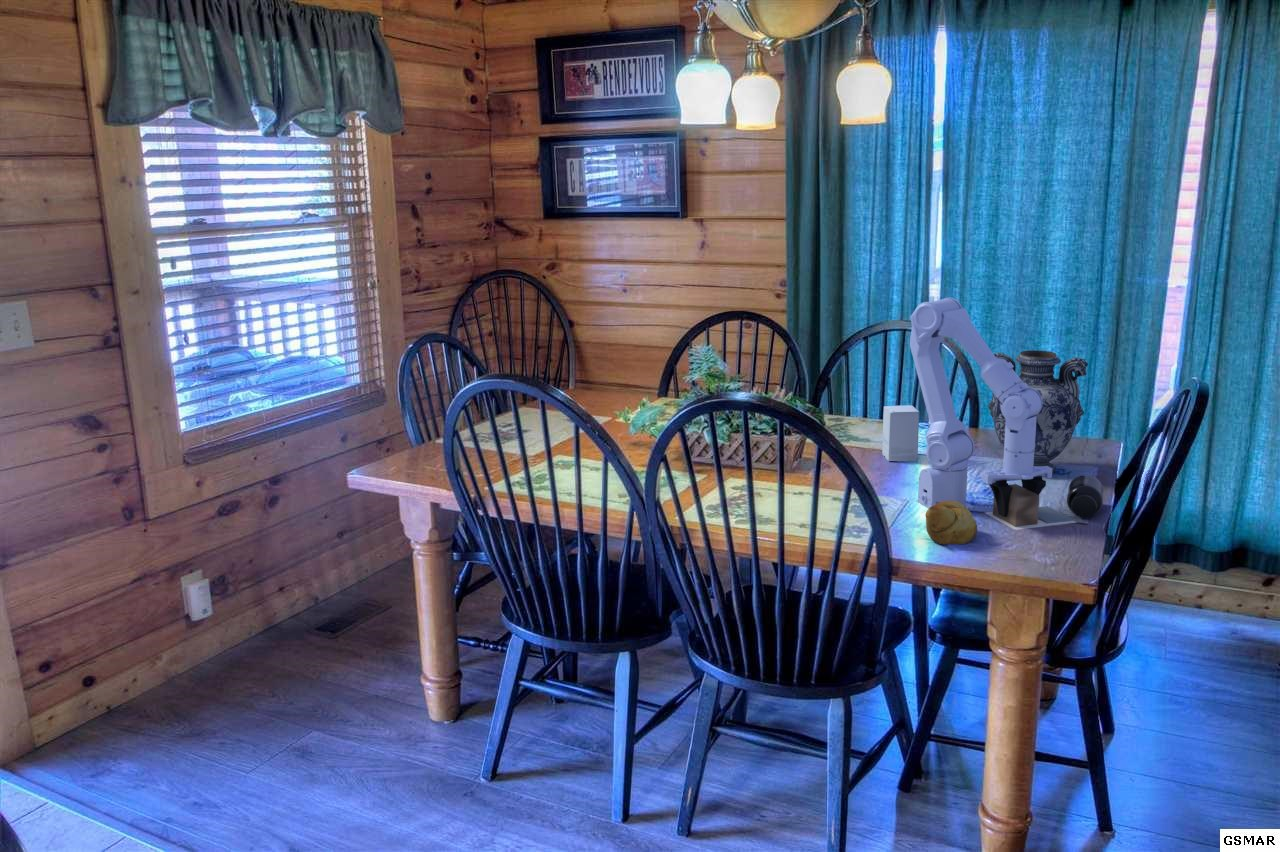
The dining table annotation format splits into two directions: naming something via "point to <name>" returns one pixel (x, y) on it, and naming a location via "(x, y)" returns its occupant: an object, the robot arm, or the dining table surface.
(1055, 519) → the pad
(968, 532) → the bread roll
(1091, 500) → the supplement bottle
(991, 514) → the board
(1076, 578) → the dining table surface
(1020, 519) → the walnut block
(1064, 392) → the decorative vase
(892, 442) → the supplement box
